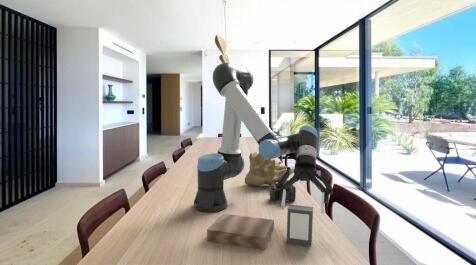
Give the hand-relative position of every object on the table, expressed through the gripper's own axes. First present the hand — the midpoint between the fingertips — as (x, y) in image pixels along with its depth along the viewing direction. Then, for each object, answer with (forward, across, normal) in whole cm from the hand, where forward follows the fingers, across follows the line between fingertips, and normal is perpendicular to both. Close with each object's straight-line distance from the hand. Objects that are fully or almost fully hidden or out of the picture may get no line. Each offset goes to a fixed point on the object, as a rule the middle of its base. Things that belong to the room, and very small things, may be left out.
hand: (302, 209), depth 106 cm
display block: (+10, -20, +4) cm, 23 cm away
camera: (-21, -12, +36) cm, 43 cm away
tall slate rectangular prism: (+10, 0, +4) cm, 11 cm away
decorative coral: (-38, -25, +52) cm, 69 cm away
